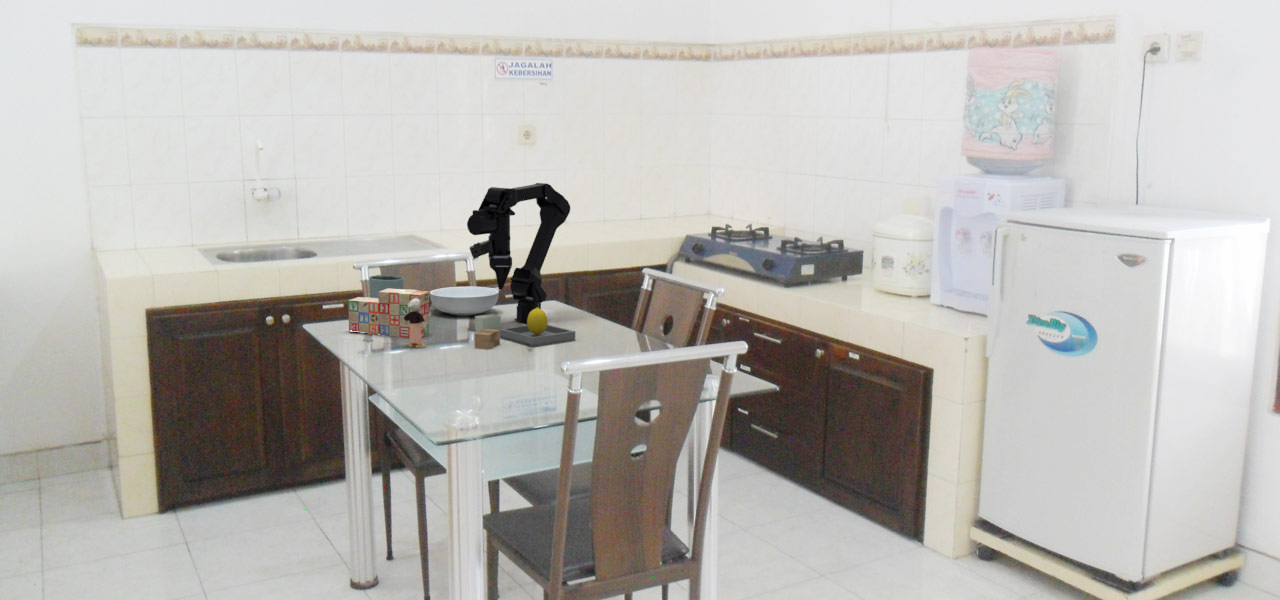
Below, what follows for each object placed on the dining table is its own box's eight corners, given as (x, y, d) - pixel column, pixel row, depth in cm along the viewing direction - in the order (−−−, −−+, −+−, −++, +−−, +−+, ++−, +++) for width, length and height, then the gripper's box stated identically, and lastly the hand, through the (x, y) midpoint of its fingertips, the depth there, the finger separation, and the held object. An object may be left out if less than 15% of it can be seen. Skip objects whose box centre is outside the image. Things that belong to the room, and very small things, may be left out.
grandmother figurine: (432, 346, 283) (431, 298, 281) (424, 348, 279) (423, 300, 277) (406, 343, 285) (405, 296, 283) (398, 346, 282) (397, 298, 280)
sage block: (493, 327, 310) (493, 314, 309) (500, 330, 307) (500, 316, 306) (475, 330, 306) (475, 316, 305) (482, 332, 303) (482, 318, 302)
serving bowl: (472, 305, 345) (472, 283, 344) (512, 314, 330) (512, 292, 329) (416, 312, 331) (416, 290, 329) (456, 322, 316) (455, 299, 315)
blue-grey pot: (369, 314, 325) (369, 274, 323) (404, 313, 327) (403, 274, 325) (369, 320, 315) (369, 279, 313) (405, 319, 318) (404, 279, 316)
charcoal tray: (542, 331, 305) (542, 323, 305) (575, 340, 295) (575, 331, 294) (499, 338, 295) (499, 329, 295) (532, 347, 285) (532, 337, 284)
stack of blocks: (348, 333, 297) (347, 289, 295) (359, 329, 303) (358, 285, 301) (420, 338, 292) (419, 294, 290) (429, 334, 298) (429, 290, 296)
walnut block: (485, 343, 289) (486, 328, 288) (499, 344, 288) (499, 330, 287) (474, 348, 282) (474, 333, 282) (488, 349, 281) (488, 334, 280)
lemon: (527, 334, 297) (527, 305, 296) (547, 334, 298) (547, 305, 296) (526, 338, 292) (527, 309, 290) (547, 338, 292) (547, 309, 291)
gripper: (470, 228, 313) (471, 281, 316) (471, 236, 295) (471, 292, 297) (509, 228, 315) (509, 281, 317) (512, 236, 296) (512, 292, 299)
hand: (500, 286), depth 308 cm, fingers open, 9 cm apart
